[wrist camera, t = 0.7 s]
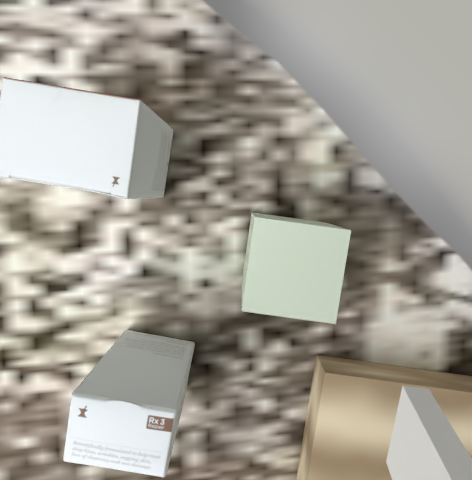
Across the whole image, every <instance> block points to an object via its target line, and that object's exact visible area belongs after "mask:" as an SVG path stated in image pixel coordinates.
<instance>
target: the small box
mask: <svg viewBox="0 0 472 480" xmlns="http://www.w3.org/2000/svg"><path fill="white" fill-rule="evenodd" d="M173 132H174V130H173V128H171V127H170V126H169V125H168V124H167V123H166V122H165V121H164V120H162V119H161V118H160V117H159V116H158V115H157V114H156V113H155V112H153V111H152V110H151V109H150V108H149V107H148V106H147V105H145V104H144V103H143V102H142V101H141V100H140V99H133V98H127V97H121V96H115V95H109V94H103V93H97V92H91V91H85V90H78V89H72V88H66V87H60V86H54V85H48V84H42V83H36V82H30V81H24V80H17V79H11V78H6V77H4V78H3V82H2V91H1V99H0V178H9V179H17V180H24V181H30V182H37V183H43V184H49V185H55V186H61V187H67V188H73V189H79V190H85V191H90V192H96V193H101V194H106V195H110V196H115V197H120V198H124V199H136V198H162V197H164V191H165V184H166V178H167V171H168V165H169V158H170V152H171V145H172V138H173Z"/></svg>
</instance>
